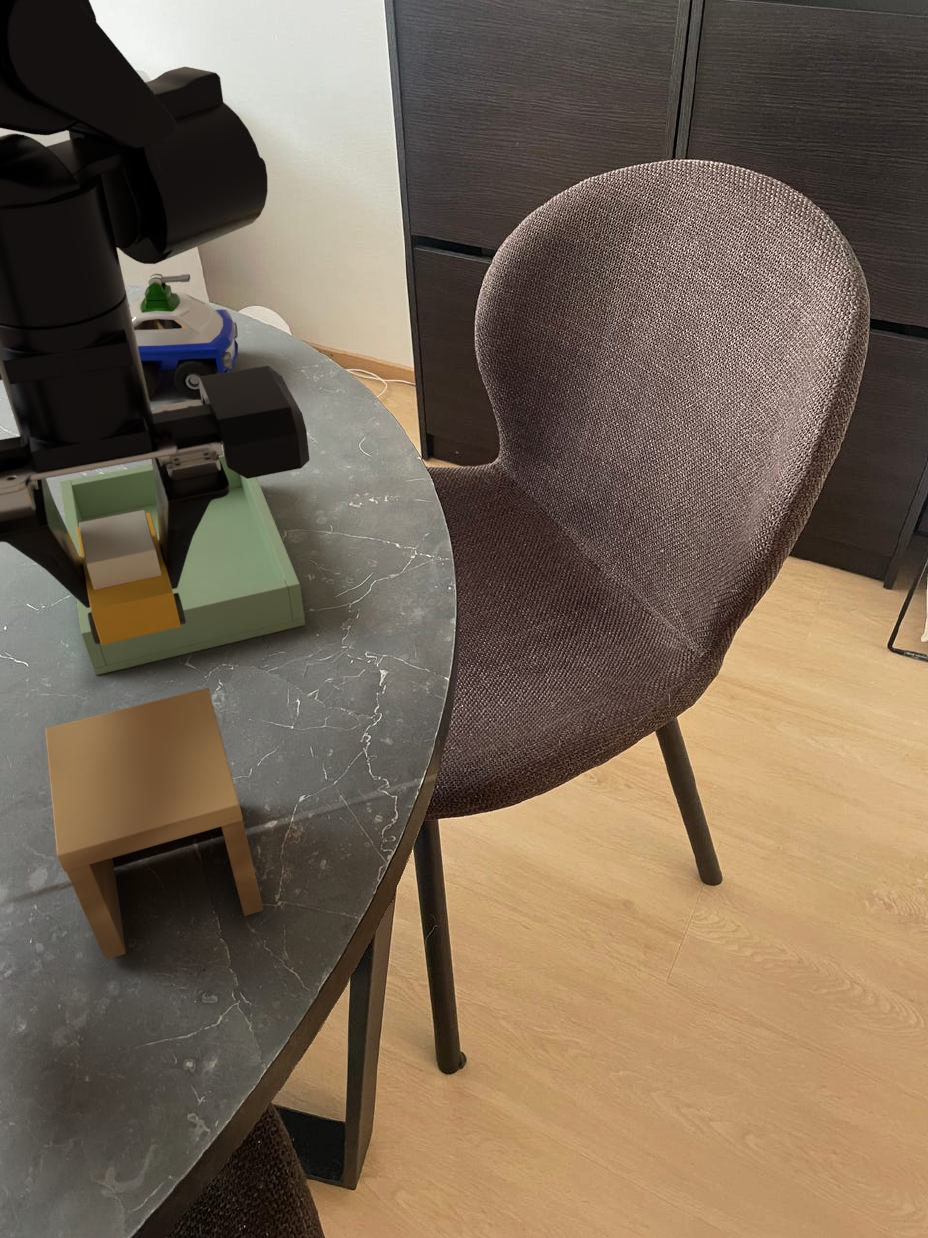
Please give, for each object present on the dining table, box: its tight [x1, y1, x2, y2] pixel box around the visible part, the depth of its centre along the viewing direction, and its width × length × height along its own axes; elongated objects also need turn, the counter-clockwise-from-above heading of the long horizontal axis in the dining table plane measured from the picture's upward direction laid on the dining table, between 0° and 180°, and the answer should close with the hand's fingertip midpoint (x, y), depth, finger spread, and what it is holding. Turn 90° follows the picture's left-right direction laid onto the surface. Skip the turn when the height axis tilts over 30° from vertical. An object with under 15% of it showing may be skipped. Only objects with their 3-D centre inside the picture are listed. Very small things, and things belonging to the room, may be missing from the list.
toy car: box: [129, 273, 239, 400], centre depth 90 cm, size 9×12×10 cm
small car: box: [76, 510, 186, 645], centre depth 50 cm, size 7×4×4 cm, turn 22°
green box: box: [59, 450, 306, 676], centre depth 70 cm, size 14×18×4 cm
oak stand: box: [44, 687, 264, 960], centre depth 49 cm, size 8×8×9 cm
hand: (131, 592), depth 51 cm, fingers closed on small car, 4 cm apart
